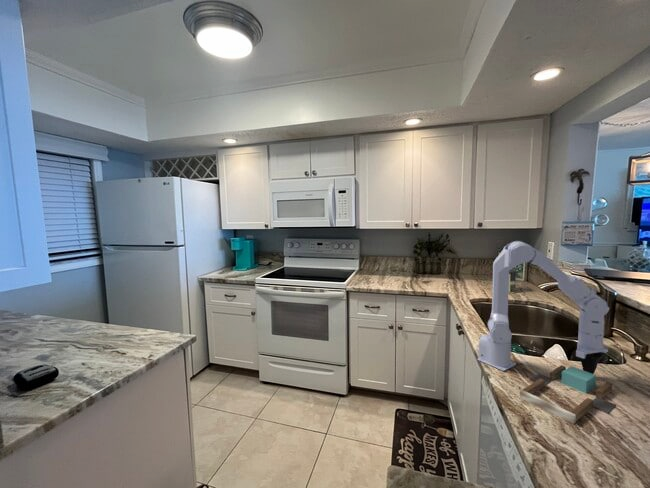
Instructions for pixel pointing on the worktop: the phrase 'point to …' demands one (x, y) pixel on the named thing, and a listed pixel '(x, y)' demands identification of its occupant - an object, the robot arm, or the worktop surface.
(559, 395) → the worktop surface
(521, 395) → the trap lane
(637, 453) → the worktop surface
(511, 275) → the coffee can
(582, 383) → the teal block
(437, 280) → the worktop surface
